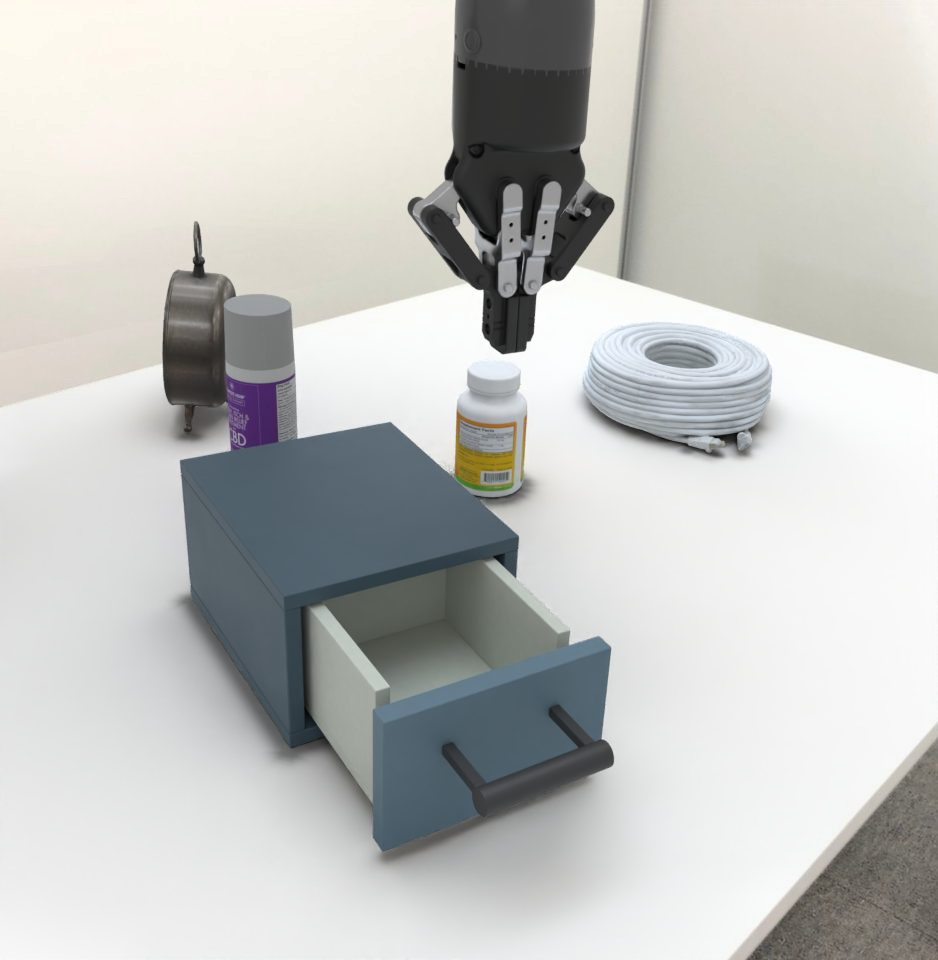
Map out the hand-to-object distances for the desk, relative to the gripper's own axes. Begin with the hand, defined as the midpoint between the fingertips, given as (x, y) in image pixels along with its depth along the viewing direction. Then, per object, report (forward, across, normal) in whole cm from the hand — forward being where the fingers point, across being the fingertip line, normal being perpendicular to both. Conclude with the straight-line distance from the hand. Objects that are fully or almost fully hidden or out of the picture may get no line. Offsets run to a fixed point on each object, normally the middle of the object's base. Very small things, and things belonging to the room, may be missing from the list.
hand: (506, 348), depth 73 cm
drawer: (+16, +10, +14) cm, 24 cm away
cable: (+18, -30, -20) cm, 40 cm away
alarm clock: (+18, +8, -34) cm, 39 cm away
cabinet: (+17, +11, +1) cm, 20 cm away
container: (+18, +9, -18) cm, 27 cm away
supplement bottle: (+18, -7, -14) cm, 23 cm away
